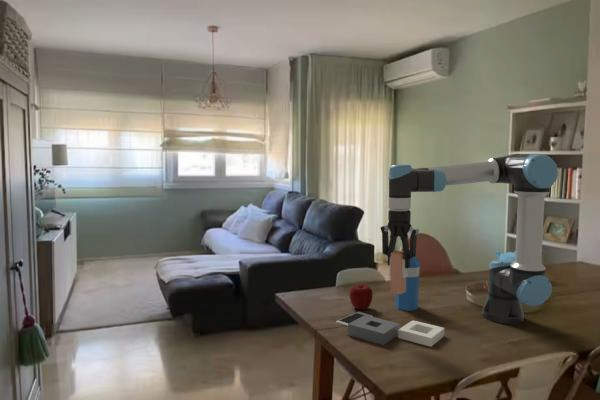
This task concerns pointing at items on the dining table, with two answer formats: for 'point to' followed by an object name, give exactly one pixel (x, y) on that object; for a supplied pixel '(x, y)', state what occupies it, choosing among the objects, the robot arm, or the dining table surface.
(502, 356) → the dining table surface
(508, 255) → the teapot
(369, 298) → the apple
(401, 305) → the water bottle
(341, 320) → the smartphone
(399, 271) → the plug
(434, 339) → the white square frame
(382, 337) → the grey flat block
